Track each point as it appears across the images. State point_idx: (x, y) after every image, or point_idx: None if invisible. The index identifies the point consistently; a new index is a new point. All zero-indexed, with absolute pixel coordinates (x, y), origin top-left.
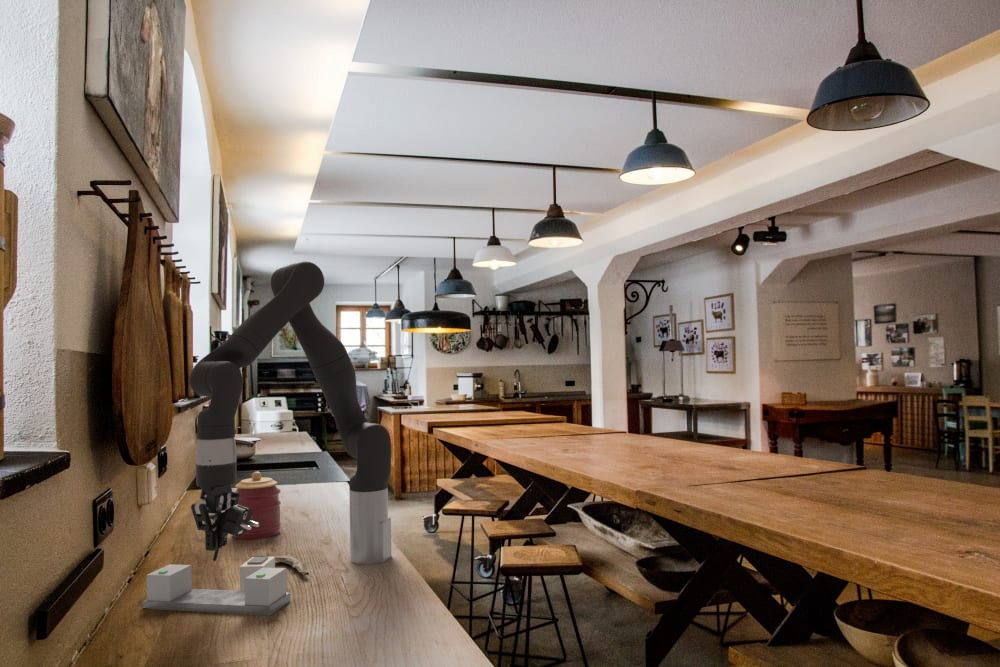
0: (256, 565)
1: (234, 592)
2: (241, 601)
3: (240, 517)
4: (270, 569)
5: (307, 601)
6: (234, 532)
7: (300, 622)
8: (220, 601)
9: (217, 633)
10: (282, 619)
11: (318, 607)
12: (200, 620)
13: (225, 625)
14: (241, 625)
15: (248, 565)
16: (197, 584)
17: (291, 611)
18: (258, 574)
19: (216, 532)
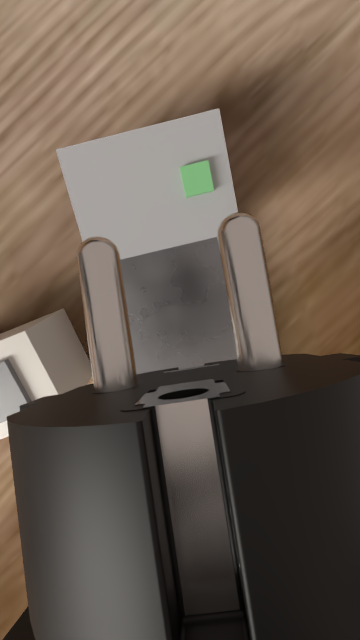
0: (30, 363)
1: (146, 350)
2: (205, 266)
3: (293, 377)
4: (100, 211)
5: (51, 123)
6: (290, 354)
7: (214, 3)
8: (226, 330)
9: (356, 206)
10: (211, 89)
11: (81, 40)
12: (289, 326)
13: (301, 230)
14: (288, 183)
15: (43, 393)
16: None
17: (145, 111)
18: (203, 185)
19: None
